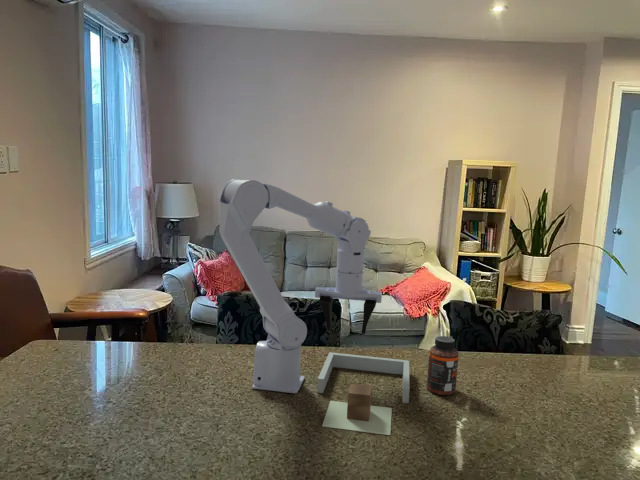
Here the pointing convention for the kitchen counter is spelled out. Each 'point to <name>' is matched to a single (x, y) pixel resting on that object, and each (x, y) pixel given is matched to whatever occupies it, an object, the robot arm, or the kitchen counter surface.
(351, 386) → the block
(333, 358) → the u-shaped barrier
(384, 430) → the mat
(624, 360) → the kitchen counter surface
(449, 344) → the supplement bottle
